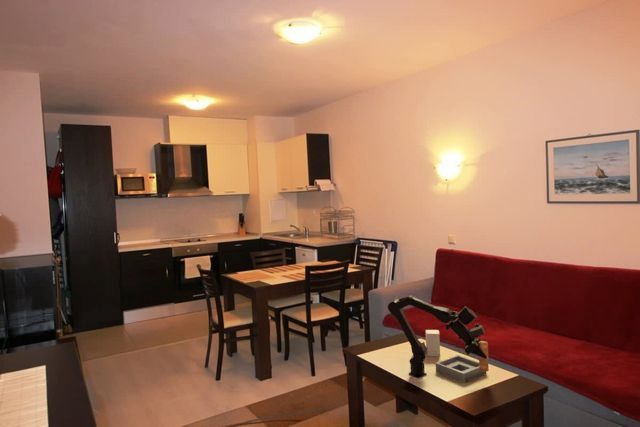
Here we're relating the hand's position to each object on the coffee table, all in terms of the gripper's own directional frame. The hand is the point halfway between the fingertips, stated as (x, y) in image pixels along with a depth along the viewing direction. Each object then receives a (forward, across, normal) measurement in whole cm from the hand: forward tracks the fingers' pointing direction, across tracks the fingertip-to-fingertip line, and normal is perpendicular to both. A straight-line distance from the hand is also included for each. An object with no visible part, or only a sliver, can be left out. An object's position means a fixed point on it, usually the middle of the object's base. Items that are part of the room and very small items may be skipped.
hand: (486, 356), depth 202 cm
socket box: (0, +9, +18) cm, 20 cm away
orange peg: (+4, 0, +6) cm, 7 cm away
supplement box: (-12, +30, +31) cm, 45 cm away
